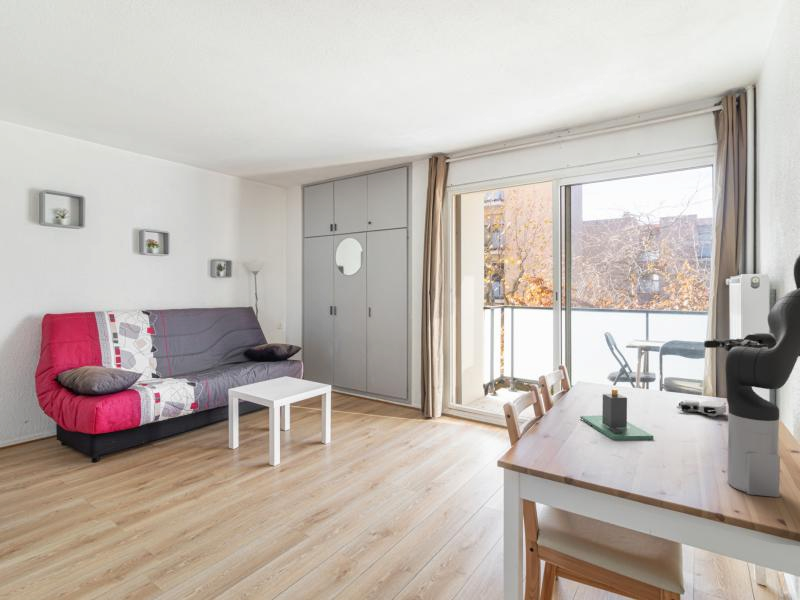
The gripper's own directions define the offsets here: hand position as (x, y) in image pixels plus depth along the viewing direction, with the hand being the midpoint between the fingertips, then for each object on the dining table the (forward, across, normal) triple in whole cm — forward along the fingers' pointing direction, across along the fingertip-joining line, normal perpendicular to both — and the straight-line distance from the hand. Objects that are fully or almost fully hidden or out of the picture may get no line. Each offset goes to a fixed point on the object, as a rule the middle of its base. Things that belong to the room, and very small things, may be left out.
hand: (715, 345), depth 129 cm
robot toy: (-21, -32, +30) cm, 49 cm away
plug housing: (+23, -15, +29) cm, 40 cm away
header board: (+23, -15, +30) cm, 41 cm away
